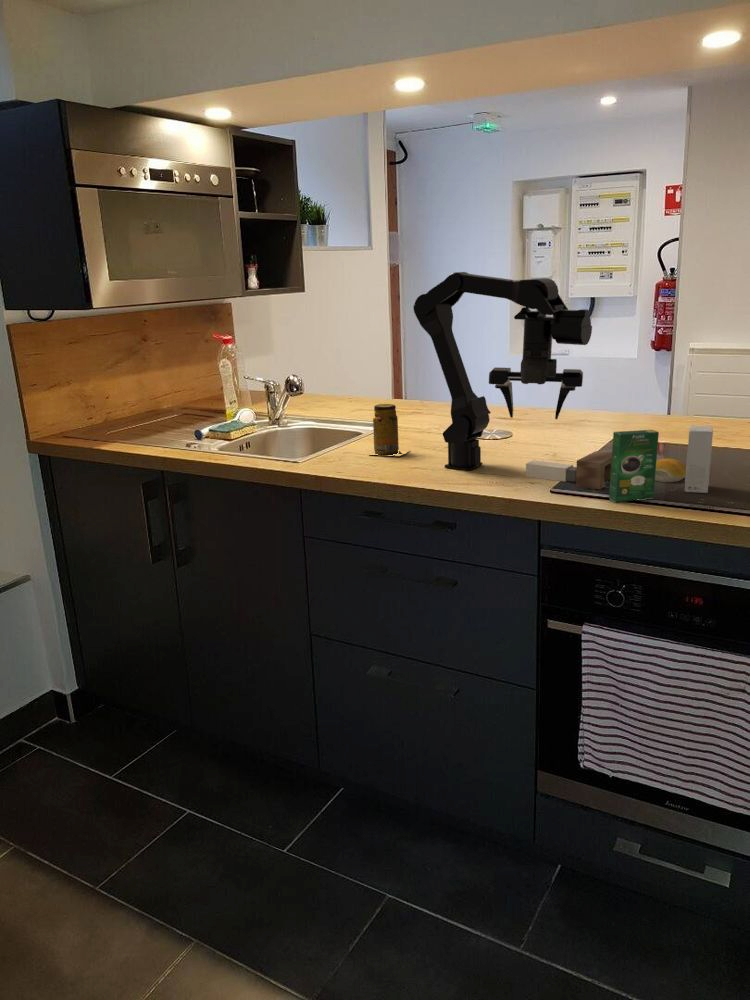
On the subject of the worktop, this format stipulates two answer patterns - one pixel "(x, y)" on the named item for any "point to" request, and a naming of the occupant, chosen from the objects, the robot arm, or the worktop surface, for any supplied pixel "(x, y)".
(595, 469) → the wooden block
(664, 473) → the bread roll
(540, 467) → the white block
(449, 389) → the robot arm
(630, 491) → the coffee box
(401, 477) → the worktop surface
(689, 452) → the skincare box
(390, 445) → the condiment
